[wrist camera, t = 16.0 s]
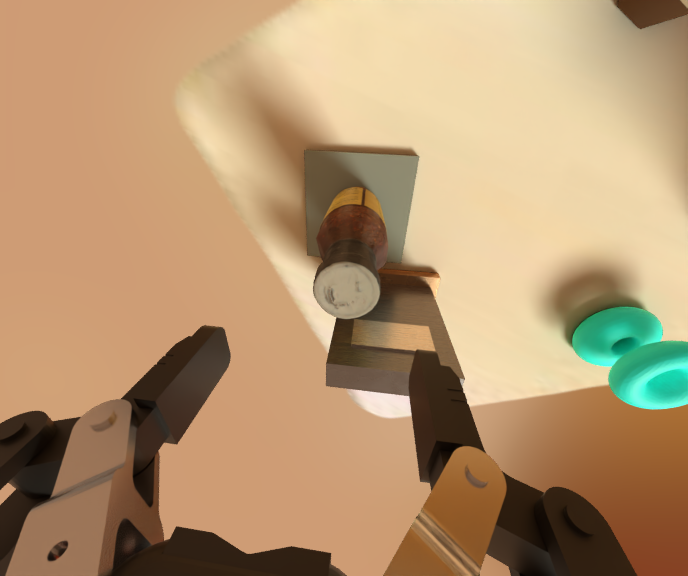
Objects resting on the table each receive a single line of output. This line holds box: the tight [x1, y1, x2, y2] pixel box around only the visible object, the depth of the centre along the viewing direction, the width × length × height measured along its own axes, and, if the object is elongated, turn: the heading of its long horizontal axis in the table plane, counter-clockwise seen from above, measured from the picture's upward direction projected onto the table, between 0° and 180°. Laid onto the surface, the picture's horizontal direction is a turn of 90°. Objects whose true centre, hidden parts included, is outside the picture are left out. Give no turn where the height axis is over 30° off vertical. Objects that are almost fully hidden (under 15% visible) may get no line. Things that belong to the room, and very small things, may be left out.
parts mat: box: [304, 150, 419, 263], centre depth 33 cm, size 13×13×1 cm
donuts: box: [572, 307, 688, 409], centre depth 34 cm, size 10×10×10 cm
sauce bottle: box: [313, 187, 388, 319], centre depth 24 cm, size 6×6×20 cm
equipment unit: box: [326, 268, 465, 396], centre depth 31 cm, size 14×6×18 cm, turn 87°
